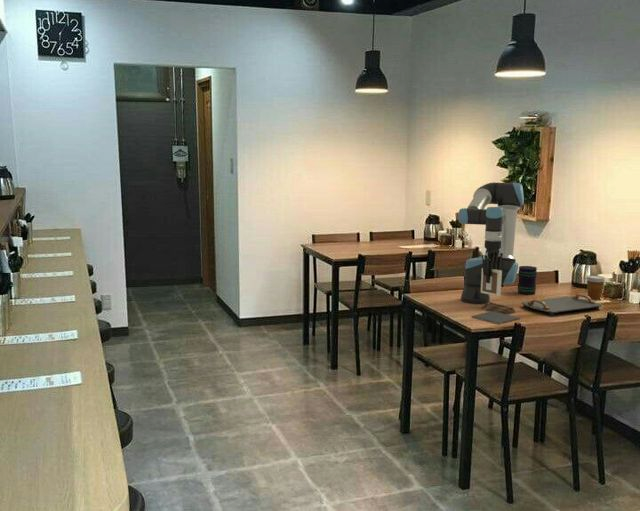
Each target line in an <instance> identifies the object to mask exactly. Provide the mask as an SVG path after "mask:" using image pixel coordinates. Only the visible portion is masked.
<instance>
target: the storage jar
mask: <svg viewBox="0 0 640 511" xmlns="http://www.w3.org/2000/svg"><path fill="white" fill-rule="evenodd" d="M537 268H538V267H536V266H531V265H520V266H518V271H517V275H518V276H517V277H518V283H517V294H518V295H522V296H534V295H536V290H537V284H536V282H537V281H536V280H537V276H538V275H537V274H538V273H537V270H538V269H537Z"/></svg>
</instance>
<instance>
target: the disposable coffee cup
mask: <svg viewBox="0 0 640 511" xmlns="http://www.w3.org/2000/svg"><path fill="white" fill-rule="evenodd" d="M585 279H586V287H587V296H589V297H590V298H591V299H592V300H596V299H597V300H601V297H602V293H603V288H604V284H605V282H606V279H605V277H604V276H602V275H587V276H586V278H585Z"/></svg>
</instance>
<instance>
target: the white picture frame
mask: <svg viewBox="0 0 640 511" xmlns="http://www.w3.org/2000/svg"><path fill="white" fill-rule="evenodd" d="M491 276H492V290H487V289H486V276H485V275H483V268H482V275H481V293H485V294H489V296H490V295H491V296H496V297H501V296H502V284H501V279H502V271H501V270H495V269H492V273H491Z"/></svg>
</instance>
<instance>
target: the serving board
mask: <svg viewBox="0 0 640 511" xmlns="http://www.w3.org/2000/svg"><path fill="white" fill-rule="evenodd" d="M580 297H581V298H580ZM521 304H522V305H523V308H524V309H526V308H530V309H533V310H537V311H542V312H546V313H548V315H549V316H550V317H553V316H555V314H556V313H562V312H572V311H579V310H584V309H585V310H586V309H591V308H594V309H595V310H596V311H597V310H600V307H602V305H601V304H599V303H597V302H596V301H594V299H591V298H590V297H589V296H588V294H587V295H586V294H584V293H578V294H576V295H574V296H566V295H565V296H558V297H553V298H551V297H550V298H542V299H532V300H528V301H527V300H526V301H522V302H521Z"/></svg>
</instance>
